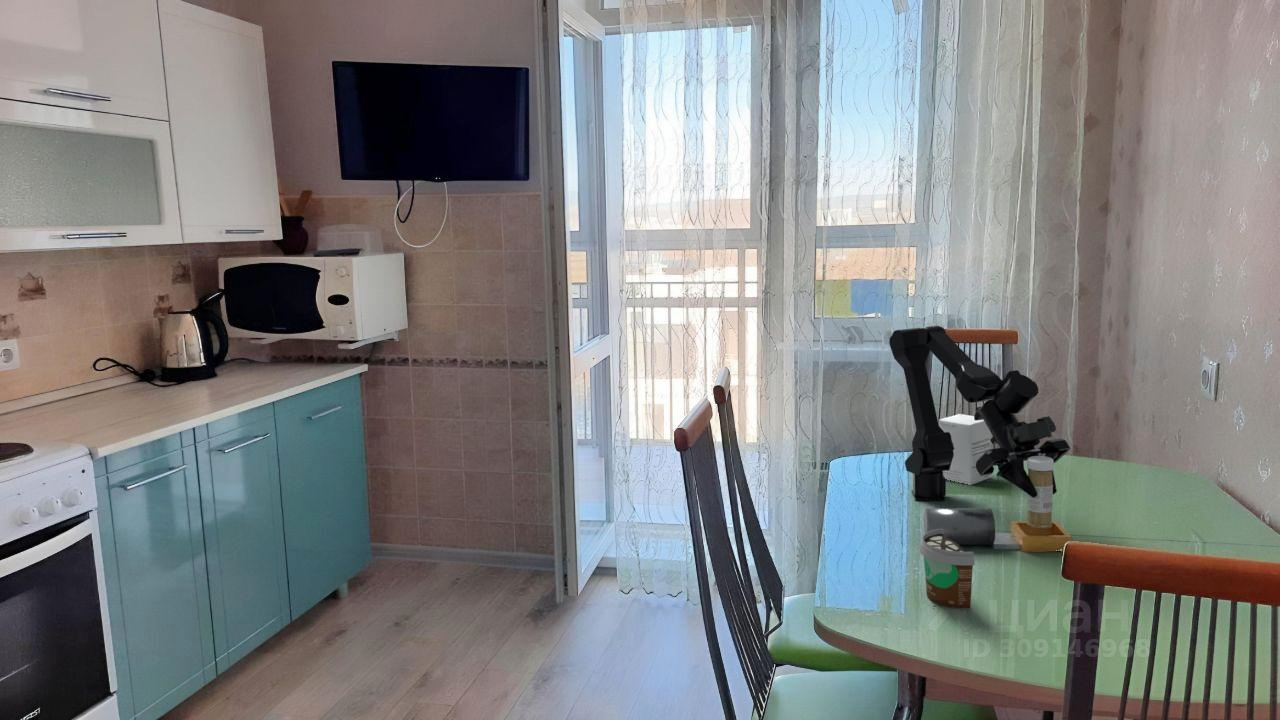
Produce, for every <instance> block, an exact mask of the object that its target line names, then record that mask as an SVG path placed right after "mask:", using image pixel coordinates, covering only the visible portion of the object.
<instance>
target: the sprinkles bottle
mask: <svg viewBox="0 0 1280 720" xmlns="http://www.w3.org/2000/svg"><path fill="white" fill-rule="evenodd" d="M1026 461H1027V463H1026V465H1027V466H1026V467H1027V472H1028V473H1027V475H1028V477H1029V478H1030V480H1031V482H1032V484H1033V486H1034V487H1035V490H1036V492H1037V496H1036V497H1035V498H1033V497H1031V496H1030V495H1029V494H1027V493H1026V494H1027V497H1026V498H1027V499H1026V500H1027V502H1026V505H1027V506H1026V507H1027V520H1026V522H1027V525H1028V526H1030V527H1033V528H1037V529H1048V528H1050V527H1052V522H1053V521H1052V514H1053V497H1054V494H1053V484H1052V472H1053V473H1054V465H1055V463H1054V461H1053V459H1052V458H1049V457H1045V456H1032V457H1029V458H1028V460H1026Z"/></svg>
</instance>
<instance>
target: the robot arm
mask: <svg viewBox="0 0 1280 720" xmlns="http://www.w3.org/2000/svg"><path fill="white" fill-rule="evenodd" d="M888 341H889V347H890V349H891V353H892V357H893V358H894V360H895V361H896V362H897V363H898V364H899V366H900V367H902V369H903V372H904V373H903V374H904V378H905V383H906V388H907V392H908V397H909V401H910V406H911V411H912V416H913V418H914V419H913V420H914V425H915V429H916V430H915V432H914V436H913V439H912V442H911V447H912V451H911V454H910V455H909V456H908V457H907V459H905V461H904V467H905V470H906V472H909V473H911V474H912V490H911V494H913V495H912V496H914V497H913V499H914V498H915V499H914V500H915V501H946V498H945V496H946V495H947V487H946V486H947V480H946V479H945V477H944V476H943V471H949V470H950V466H951V463H952V459H953V457H954V452H953V450H954V447H953V444H952V439H951V434H950V433H949V432H944V431H943V430H942V429H941V428H940V427H939V419H938V416H937V411H936V407H935V406H936V405H935V402H934V398H933V397H934V396H933V393H932V388H931V384H930V383H931V382H930V379H929V374H928V370H927V361H928V358H929V356H930V354H931V353H932V354H933V355H934V356H935V358H936V359H937V360H938V361H939V362H940V363H941V364H942V365H943V366H944V367H945V368H946V369H947V370H948V372H950V373H951V375H952V376H953V377H954V378H955V387H956V389H957V391H958V392H959V394H960V395H961V396H962V398H963V399H964V401H966V402H967V403H979V402H984V404H983V405H982V406H976V408H975V413H974V415H973V416H974V420H975V421H976V420H984V422H985V423H986V425H987V427H988V429H989V430H990V432H991V439H990V441H991V445H994V444H995V445H996V444H997V446H998V447H996V448H991V449H990V450H987V451H986V452H985V453H984V454H983V455H982V456H981V457H980V458H979V459H978V460H977V461H976V469H977V471H978V472H979V474H980V476H983V475H989V474H990V475H992V474H993V473H994V470H995V467H994V466H996V467H997V470H998V472H996V474H995V476H996V477H998V478H1002V479H1004V480H1005V481H1007V482H1009V483H1011V484H1012V485H1014V486H1016V487H1017V488H1018V489H1020V490H1021V491H1023V492H1024V493H1025V494H1029V495H1030V496H1031V497H1033V498H1035V497H1036V496H1037V492H1036V490H1035V487H1034V486H1033V484H1032V482H1031V480H1030V478H1029V477H1028V473H1027V471H1026V469H1025V461H1027V460H1028V458H1029V457H1032V456H1045V457H1049V458H1052V459H1053V461H1054V464H1055V463H1057V462H1058V461H1059V460H1060V459H1061V458H1062V457H1064V456H1065V454H1067V453H1068V452H1069V451H1071V449H1072V448H1071V447H1070V445H1069V444H1068V442H1067V440H1066V439H1063V438H1054V439H1047V440H1045V442H1044V443H1042V445H1040V446H1039V448H1038V447H1037V448H1035V447H1036V446H1038V445H1039V444H1040V443H1041V441H1040V440H1041V439H1046V438H1051V437H1053V434H1052V433H1055V432H1056V430H1057V429H1056V425H1055V422H1054V420H1053V419H1052V418H1051V416H1050V415H1049V416H1048V415H1047V416H1042V417H1041V418H1037V419H1036V421H1033V422H1028V423H1027V421H1019V420H1018V418H1017V416H1016V414H1019V413H1021V412H1022V411H1023V410H1024V409H1025V408H1026V407H1027V406H1028V405H1029V404H1030V402H1031V403H1032V401H1033V400H1034V399H1035V397H1037V395H1038V394H1039V386H1038V385H1037V382H1035V381H1033V380H1032V378H1030V377H1029V376H1026V375H1024V374H1021V372H1020V371H1019V370H1018V369H1015V370H1009V371H1008V372H1007V374H1006V375H1005V377H1004V378H1003V379H1001V378H1000V375H998V374H997V373H995V372H994V371H993V370H991V369H990V368H989V367H987V366H983V365H981V364H978V363H976V362H975V361H973V360H972V359H971V358H970V356H968V355H967V353H965V351H964V350H963V349H961V347H960V346H958V344H957V343H956V342H955V341H954V340H953V339H952V338H951V337H950V336H949V335H948V334H947V332H946V330H945V327H943V326H940V325H932V326H931V325H930V326H923V327H915V328H904V329H896V330H894V331H893V332H892V334H891V336H890V337H889V340H888ZM930 352H931V353H930ZM1052 484H1053V495H1055V494H1056V493H1057V492H1058V490H1057V485H1056V484H1057V483H1056V479H1055V474H1054V471H1053V472H1052Z"/></svg>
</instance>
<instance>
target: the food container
mask: <svg viewBox="0 0 1280 720" xmlns="http://www.w3.org/2000/svg"><path fill="white" fill-rule="evenodd" d="M918 551H919V553H920V554H921V555H922V556H923V563H924V564H923V566H924V568H923V569H924V578H925V587H926V588H925V589H926V591H925V592H926V597H927V598H928V600H929V601H931V602H932V603H934V604H936V605H939V606H943V607H946V608H953V609H958V610H959V609H961V610H963V609H965V610H966V609H971V605H972V604H971V602H972V601H971V600H972V587H973V586H972V585H973V584H972V583H973V566H975V556H974V551H965V550H964V549H963V548H962V547H961V546H960V544H957V543H956V542H954V541H952V540H950V539H948V538H947V537H946V536H945V535H944V533H943V529H937V530H933V531H929V532H927V533H925V532H924V533H923V536H922V538H921V540H920V543H919V547H918Z"/></svg>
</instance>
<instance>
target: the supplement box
mask: <svg viewBox="0 0 1280 720" xmlns="http://www.w3.org/2000/svg"><path fill="white" fill-rule="evenodd" d="M938 424H939V427H940V428H941V429H942V430H943V431H944V432H949V433H950V434H951V439H952V444H953V447H954V450H953V452H954V457H953V459H952V463H951V466H950V470H949V471H943V476H944V477H945V479H947V480H946V481H950V480H951V481H950V482H954V481H955V483H958V482H959V483H960V484H962V483H964V484H963V485H967V484H968V486H972V485H975V484H977V483H981V482H983V481H985V480H989V479H991V474H989V475H983V476H980V474H979V472H978V471H977V469H976V461H977V460H978V459H979V458H980V457H981V456H982V455H983V454H984V453H985V452H986V451H987V450H990V449H992V448H991V446H992V443H991V441H990V439H991V438H992V434H991V432H990V430H989V429H988V427H987V425H986V423H985V422H984V420H976V421H975V420H974V415H968V414H962V413H957V414H955V415H951V416H946V417H943V418H940V419H938Z"/></svg>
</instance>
